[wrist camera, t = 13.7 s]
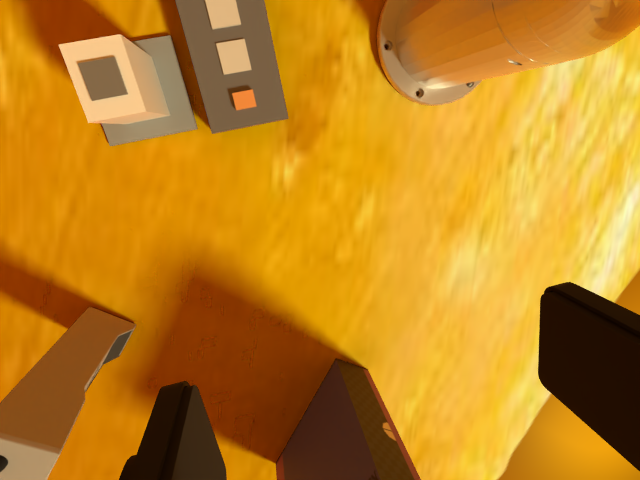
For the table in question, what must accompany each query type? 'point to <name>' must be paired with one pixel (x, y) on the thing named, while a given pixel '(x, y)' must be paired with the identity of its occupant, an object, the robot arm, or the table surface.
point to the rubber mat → (173, 94)
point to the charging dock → (233, 62)
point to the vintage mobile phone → (56, 395)
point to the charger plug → (114, 80)
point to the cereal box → (346, 434)
